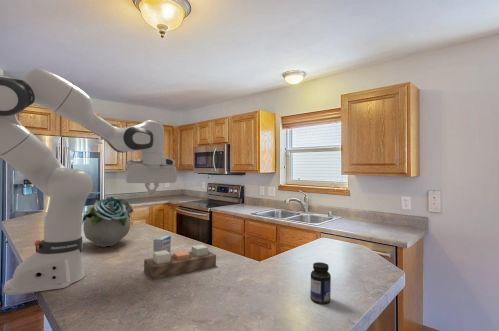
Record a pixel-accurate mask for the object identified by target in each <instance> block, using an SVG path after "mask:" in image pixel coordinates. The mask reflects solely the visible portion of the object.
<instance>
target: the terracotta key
mask: <svg viewBox="0 0 499 331" xmlns="http://www.w3.org/2000/svg"><path fill="white" fill-rule="evenodd" d="M187 252H188V251H186V250H183V251H178V252H173V253H172V255H173V258H174V259H176V260H177V261H178V260H183V259H189V258H190V254H189V253H187Z"/></svg>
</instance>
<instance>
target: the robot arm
mask: <svg viewBox="0 0 499 331" xmlns="http://www.w3.org/2000/svg"><path fill="white" fill-rule="evenodd" d="M93 103H94V102H93V100H92V98H91V96H89V95H88V94H87V93H86V92H85V91H84V90H82V89H81V88H79V87H78V86H77V85H75V84H73V83H71V82H70V81H68V80H67V79H65V78H63V77H61V76H59V75H58V74H55V73H53V72H51V71H49V70H47V69H44V68H41V67H40V68H39V67H38V68H34V69H31V70H29V71H28V72H26V73H25V75H24V76H23V77H21V78H19V79H18V78H13V77H11V76H8V75H4V74H0V159H1V160H3V161H4V162H6V163H7V164H8V165H10V166H11V167H13V169H15V170H16V171H18V173H21V175H23V177H25V179H27V180H28V181H29V182H30V183H31V184H32V185H33V186H34V187H35V188H37V189H38V190H39V191H40V192H42V194H44V195H45V196H47V197H49V198H50V203H49V206H48V210H47V212H46V214H45V216H44V218H43V220H44V221H43V239H42V240H41V239H37V240H35V241H34V242H33V243H34V244H33V245H34V246H35V252H34V253H32V255H30V256H29V257H27V258H25V260H22V262H20V263H19V264H18V265H17V267H15V270H14V273H13V275H12V278H10V279H9V280H7V281H6V282H5V283H4V285H3V289H2V290H3V291H2V292H3V293H4V294H5V295H8V296H14V295H22V294H30V293H36V292H44V291H51V290H58V289H59V290H60V289H64V288H67V287H69V286H70V285H72V284H73V283H77V282H78V281H81V280H82V279H84V278H85V276H86V273H85V269H84V266H83V260H82V258H83V257H82V253H83V245H84V244H83V241H84V240H83V237H82V226H83V224H82V221H83V215H84V214H83V213H84V209H85V205H86V202H87V200H88V199H87V198H88V196H89V195H90V194H91V193H92V190H93V188H94V182H93V179H92V177H91V176H90V175H89V173H86V172H85V171H83V170H81V169H78V168H68V167H66V166H64V165H63V164H62V163H61V161H59V160H58V159H57V157H56V156H55V154H54V153H53V150H52V149H51V148H50V147H49V146H47V145H46V144H45V143H44V142H43V141H42V140H40V138H38V137H37V136H36V135H35V134H34V133H32V131H30V130H29V129H28V128H26V126H24V124H22V123H21V122H20V120H19V119H18V116H17V114H20V113H21V112H22V111H24V110H25V109H27V108H28V107H30V106H31V105H32V104H35V105H40V106H42V107H44V108H46V109H47V110H49V111H51V112H53V113H55V114H56V115H58V116H60V117H62V118H64V119H67V120H69V121H71V122H73V123H75V124H78V125H79V126H82V127H83V128H85V129H87V130H88V131H90V132H92V133H93V134H95V135H96V136H98V137H99V138H101V139H103V140H104V141H105V142H106V143H107V145H109V146H110V147H111V148H112V150H113V151H115V152H117V153H120V154H121V153H123V154H124V153H128V152H138V151H140V152H141V159H130V160H128V161H126V163H125V170H126V173H125V182H126V183H127V184H144V186H145V188H146V190H147V194H148V195H156V194H157V189H158V188H159V186H160V184H165V183H166V184H167V183H171V184H172V183H173V184H175V183H176V182H177V180H178V173H177V172H178V171H177V167H176V166H175V165H176V160H174V159H171V158H169V157H166V156H165V150H164V146H165V129H164V125H163V124H162V123H161V122H159V121H156V120H151V119H147V120H144V121H143V122H141V123H138V124H136V125H131V126H126V127H117V126H114V125H113V124H111V123H109V122H108V121H106V120H105V119H104V118H102V117H101V116H99V115H98V114H96V112H95V111H94V104H93ZM151 184H153V185H154V188H150V186H151Z"/></svg>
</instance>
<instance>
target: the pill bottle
mask: <svg viewBox="0 0 499 331" xmlns="http://www.w3.org/2000/svg"><path fill="white" fill-rule="evenodd" d="M312 269H313V270H312V271H311V272H310V292H309V293H310V300H311V301H312V302H314V303H315V304H318V305H319V304H320V305H326V304H329V303H330V301H331V290H332V288H331V286H332V285H331V282H332V280H331V279H332V278H331V276H332V275H331V273H330V272H329V264H328V263H325V262H314V263H313V264H312Z"/></svg>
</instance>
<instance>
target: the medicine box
mask: <svg viewBox="0 0 499 331" xmlns="http://www.w3.org/2000/svg"><path fill="white" fill-rule="evenodd" d="M171 239H172V236H171V235H167V234H165V235H161V236H159V237H158V236H157V237H156V238H154V239H153V246H152V247H153V249H152V250H153V251H152V253H153V252H158V251H165V250H166V251H168V252H169V253H171V248H172V247H171V245H172V244H171V241H172V240H171Z"/></svg>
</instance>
